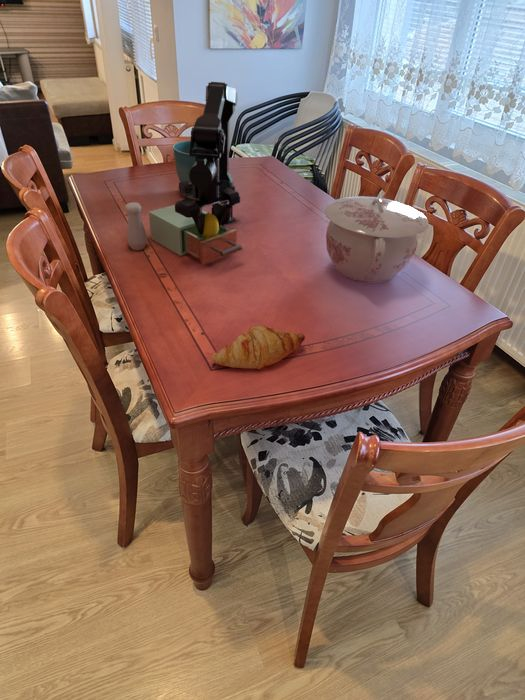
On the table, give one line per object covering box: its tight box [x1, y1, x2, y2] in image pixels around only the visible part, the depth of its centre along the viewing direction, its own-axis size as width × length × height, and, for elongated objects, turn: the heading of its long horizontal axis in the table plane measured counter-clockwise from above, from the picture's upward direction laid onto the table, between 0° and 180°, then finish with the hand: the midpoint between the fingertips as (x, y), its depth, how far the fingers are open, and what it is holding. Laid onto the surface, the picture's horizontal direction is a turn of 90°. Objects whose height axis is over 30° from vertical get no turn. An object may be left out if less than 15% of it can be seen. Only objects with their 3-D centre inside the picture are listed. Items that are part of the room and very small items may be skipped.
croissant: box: [211, 325, 306, 370], centre depth 98 cm, size 21×10×8 cm, turn 115°
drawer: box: [181, 225, 243, 266], centre depth 133 cm, size 19×12×7 cm, turn 45°
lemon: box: [202, 212, 219, 238], centre depth 130 cm, size 6×6×8 cm
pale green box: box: [148, 204, 209, 257], centre depth 139 cm, size 15×14×9 cm
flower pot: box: [172, 140, 204, 201], centre depth 169 cm, size 18×18×17 cm
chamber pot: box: [323, 195, 429, 284], centre depth 127 cm, size 28×28×21 cm
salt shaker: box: [125, 201, 148, 251], centre depth 133 cm, size 6×6×13 cm
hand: (209, 231), depth 131 cm, fingers closed on lemon, 5 cm apart
